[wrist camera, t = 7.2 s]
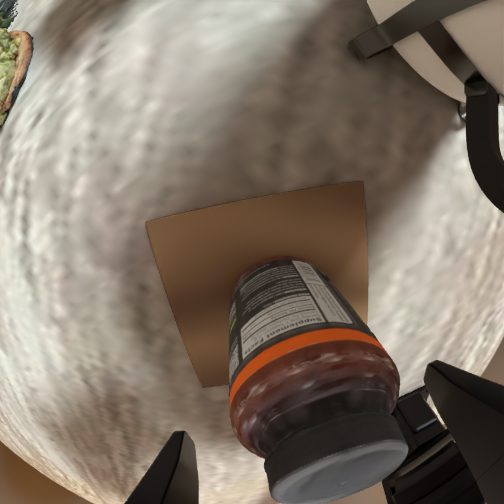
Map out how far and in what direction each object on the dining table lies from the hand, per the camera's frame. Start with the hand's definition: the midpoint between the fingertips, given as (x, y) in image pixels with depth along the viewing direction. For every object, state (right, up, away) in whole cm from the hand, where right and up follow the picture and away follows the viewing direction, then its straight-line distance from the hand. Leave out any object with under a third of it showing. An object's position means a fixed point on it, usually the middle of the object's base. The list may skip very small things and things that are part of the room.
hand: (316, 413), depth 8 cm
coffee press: (+10, +20, +4) cm, 22 cm away
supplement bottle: (-1, +3, +8) cm, 9 cm away
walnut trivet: (-1, +3, +9) cm, 10 cm away
